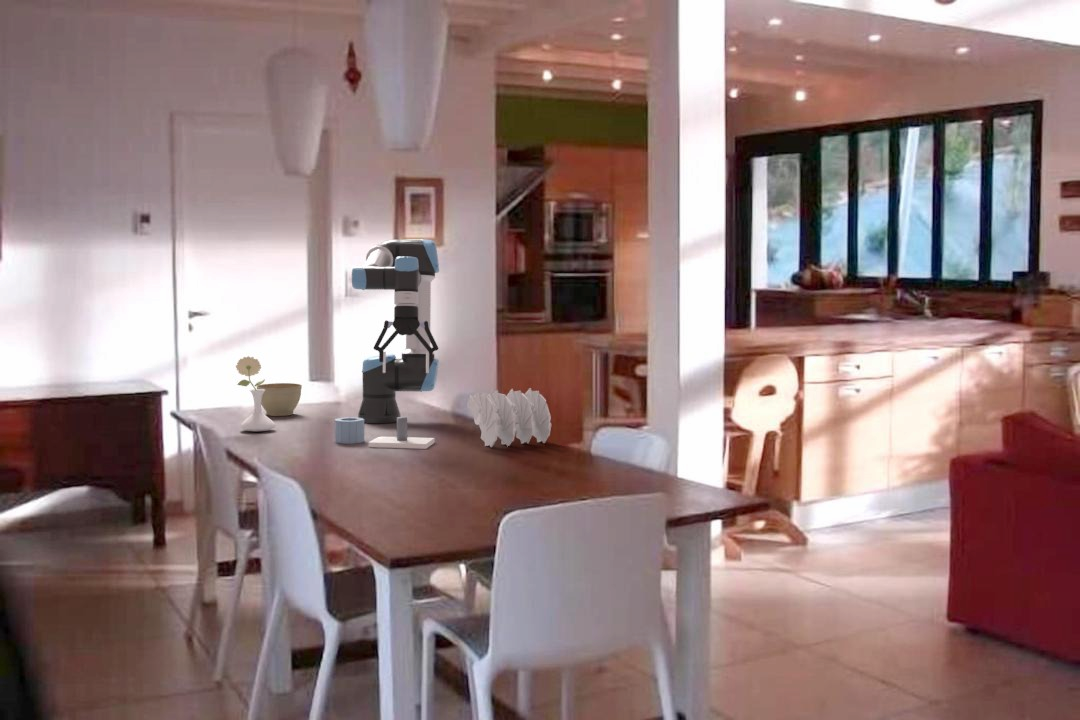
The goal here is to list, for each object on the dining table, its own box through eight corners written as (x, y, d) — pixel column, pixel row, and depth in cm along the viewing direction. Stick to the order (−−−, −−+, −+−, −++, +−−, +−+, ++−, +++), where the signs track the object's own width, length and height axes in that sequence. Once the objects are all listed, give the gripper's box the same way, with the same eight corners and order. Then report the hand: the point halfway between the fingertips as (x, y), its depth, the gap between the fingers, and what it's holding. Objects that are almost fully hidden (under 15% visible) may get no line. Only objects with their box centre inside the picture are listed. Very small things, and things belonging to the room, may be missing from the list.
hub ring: (339, 438, 380) (339, 417, 379) (367, 439, 379) (367, 417, 378) (331, 443, 371) (331, 420, 371) (359, 443, 370) (359, 421, 369)
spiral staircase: (552, 456, 373) (481, 458, 361) (529, 426, 386) (460, 427, 374) (568, 407, 365) (495, 408, 353) (543, 378, 378) (473, 377, 366)
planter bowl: (253, 413, 440) (252, 384, 439) (296, 411, 446) (295, 382, 446) (262, 418, 425) (261, 388, 424) (306, 416, 432) (306, 386, 431)
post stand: (378, 441, 376) (378, 414, 375) (434, 442, 374) (434, 415, 373) (368, 447, 364) (368, 419, 363) (426, 448, 362) (426, 421, 361)
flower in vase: (280, 429, 401) (279, 355, 398) (269, 434, 389) (268, 358, 387) (242, 428, 402) (241, 354, 400) (230, 433, 391) (229, 357, 388)
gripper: (366, 304, 369) (366, 372, 368) (446, 305, 373) (446, 372, 373) (366, 305, 376) (365, 372, 375) (444, 307, 381) (444, 373, 380)
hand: (405, 373), depth 374 cm, fingers open, 13 cm apart
